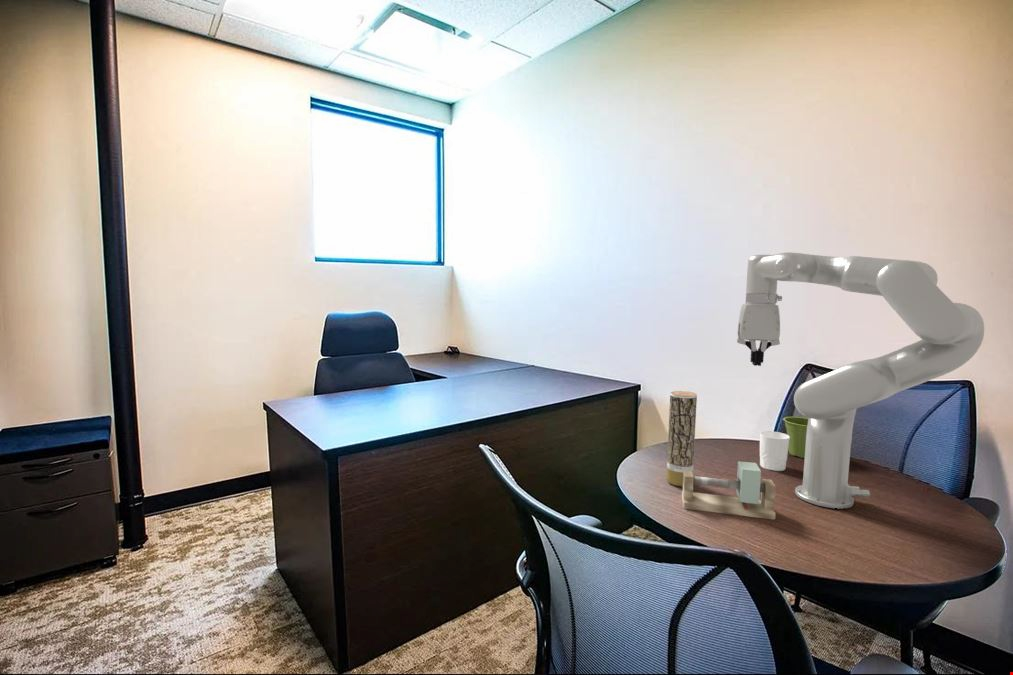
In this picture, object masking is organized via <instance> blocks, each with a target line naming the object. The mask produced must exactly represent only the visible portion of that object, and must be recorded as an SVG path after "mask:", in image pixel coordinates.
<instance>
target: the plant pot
mask: <svg viewBox="0 0 1013 675" xmlns="http://www.w3.org/2000/svg"><path fill="white" fill-rule="evenodd" d="M808 419H809V418H808V417H803V416H802V417H799V416H786V417H783V419H782V420H783V421H784V423H785V429H786V435H788V436H790V440H789V448H788V454H790V455H791V456H793V457H794V456H796V457H798V458H801V459H805V446H806V434H807V425H808Z"/></svg>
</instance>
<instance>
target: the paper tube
mask: <svg viewBox="0 0 1013 675" xmlns="http://www.w3.org/2000/svg"><path fill="white" fill-rule="evenodd" d="M697 397H698V395H697V393H695V392H691V391H686V390H683V391H682V390H674V391H670V394H669V409H668V410H669V412H668V414H669V415H668V416H669V417H668V435H667V438H668V440H667V454H666V455H667V456H666V457H667V459H666V481H667V483H668V484H670V485H672V486H676V487H681V488H683V473H684V471H692V473H693V474H694V457H695V440H696V438H695V437H696V422H697V419H696V418H697V403H698V402H697V401H698V398H697Z"/></svg>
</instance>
